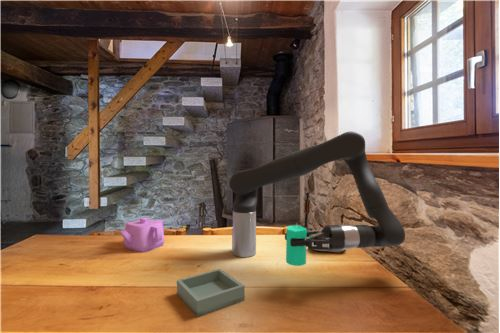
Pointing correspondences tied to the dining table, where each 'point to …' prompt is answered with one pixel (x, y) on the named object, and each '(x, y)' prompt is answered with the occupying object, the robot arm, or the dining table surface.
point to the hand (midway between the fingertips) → (288, 239)
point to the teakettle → (143, 234)
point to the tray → (210, 291)
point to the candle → (295, 253)
